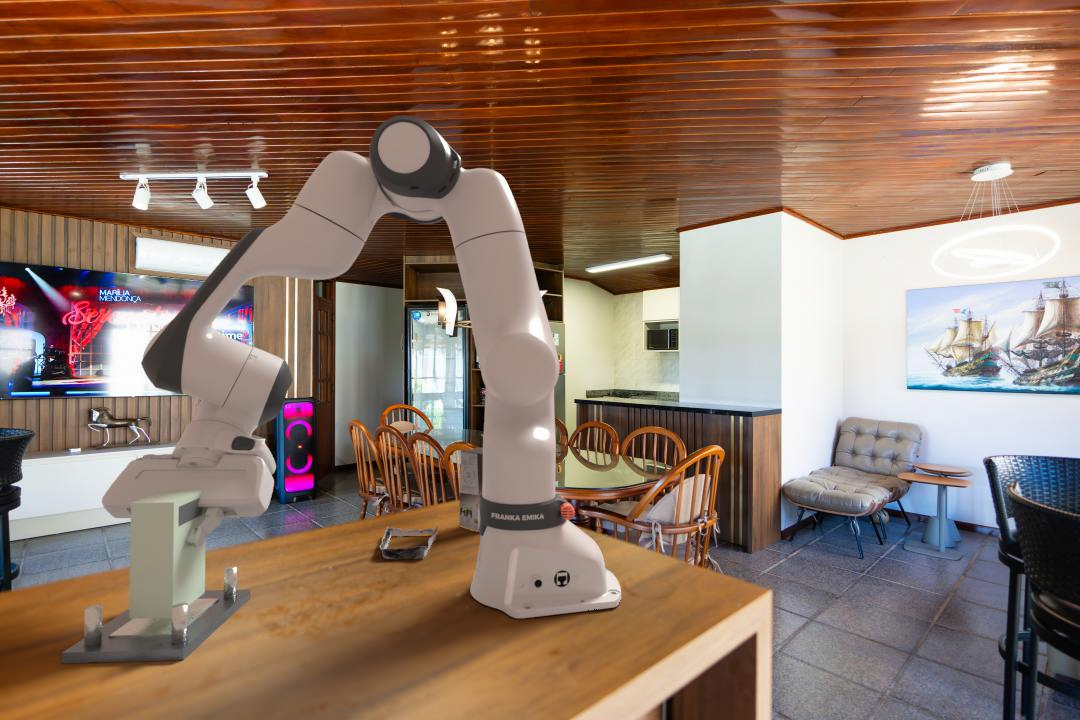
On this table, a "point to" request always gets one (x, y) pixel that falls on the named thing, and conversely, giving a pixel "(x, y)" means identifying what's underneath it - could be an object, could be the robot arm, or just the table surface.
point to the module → (165, 553)
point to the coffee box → (470, 487)
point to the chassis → (157, 629)
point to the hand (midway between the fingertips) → (166, 545)
